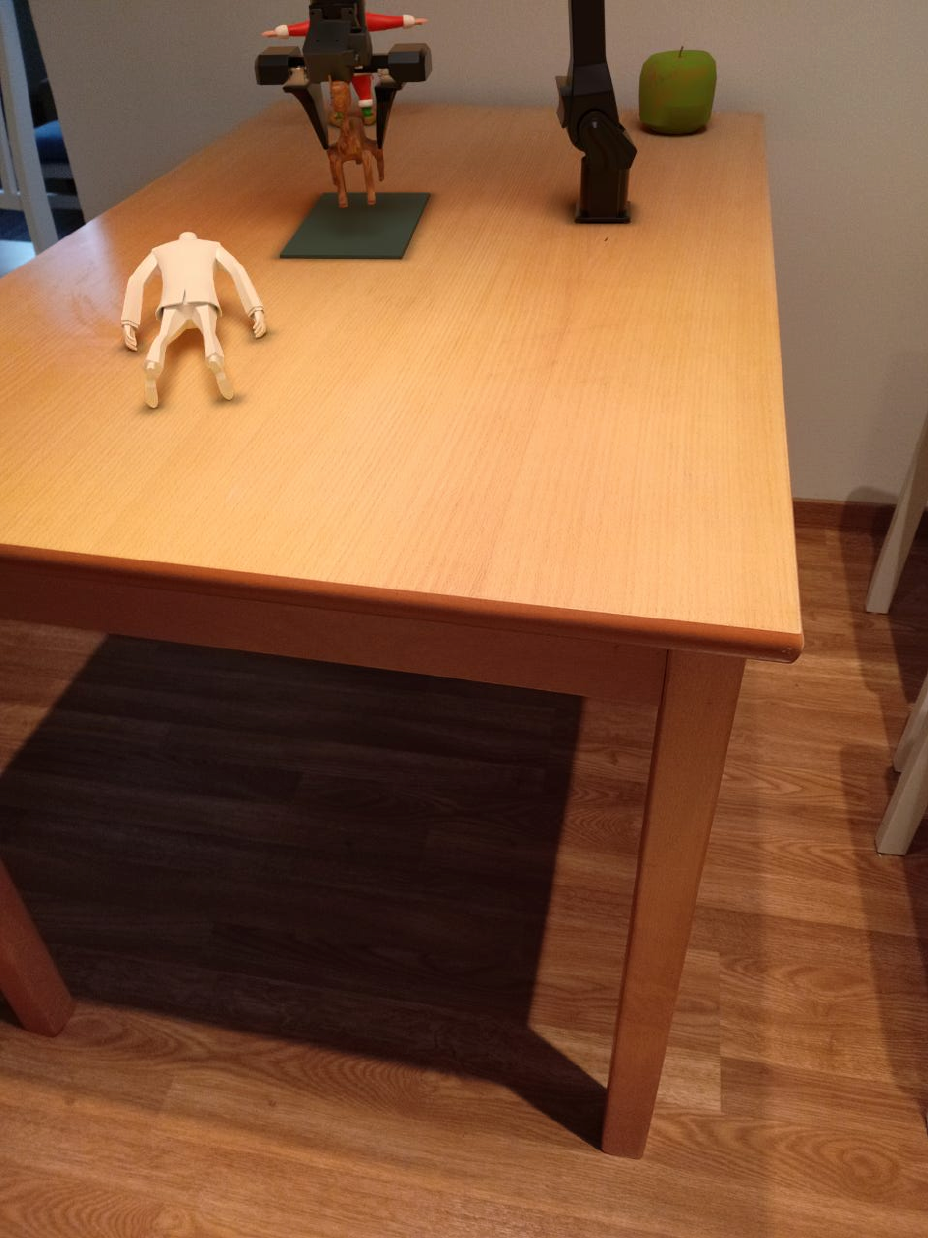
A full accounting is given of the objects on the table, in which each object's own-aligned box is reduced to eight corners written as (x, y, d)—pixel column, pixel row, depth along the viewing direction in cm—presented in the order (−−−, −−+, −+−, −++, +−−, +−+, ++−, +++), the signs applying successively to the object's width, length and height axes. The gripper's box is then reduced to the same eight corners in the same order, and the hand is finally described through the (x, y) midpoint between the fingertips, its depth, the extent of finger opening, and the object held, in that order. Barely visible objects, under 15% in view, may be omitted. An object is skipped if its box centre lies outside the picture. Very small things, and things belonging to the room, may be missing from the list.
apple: (689, 115, 150) (698, 34, 143) (725, 132, 143) (735, 47, 136) (623, 124, 148) (628, 42, 141) (655, 142, 140) (662, 56, 133)
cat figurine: (334, 168, 122) (316, 43, 114) (387, 163, 122) (372, 38, 113) (327, 215, 109) (305, 77, 100) (386, 210, 109) (369, 71, 100)
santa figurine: (429, 111, 158) (422, -26, 146) (436, 120, 154) (429, -21, 141) (273, 127, 154) (253, -14, 142) (277, 136, 150) (255, -8, 138)
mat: (402, 258, 109) (401, 255, 109) (279, 257, 111) (279, 254, 110) (430, 195, 126) (430, 192, 125) (323, 195, 127) (323, 192, 127)
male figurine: (274, 413, 87) (263, 269, 103) (263, 353, 82) (253, 212, 98) (117, 431, 85) (131, 282, 101) (96, 371, 81) (114, 224, 97)
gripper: (226, 4, 97) (255, 170, 108) (411, -1, 95) (422, 168, 105) (257, -14, 106) (281, 142, 116) (428, -19, 104) (437, 140, 114)
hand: (353, 148), depth 113 cm, fingers closed on cat figurine, 6 cm apart
